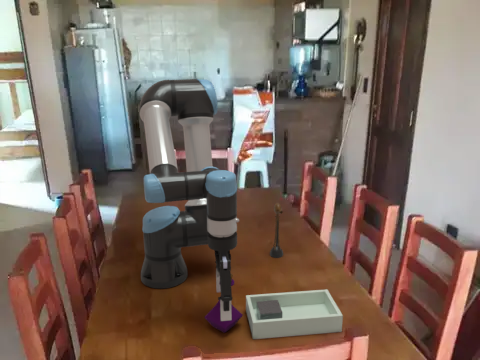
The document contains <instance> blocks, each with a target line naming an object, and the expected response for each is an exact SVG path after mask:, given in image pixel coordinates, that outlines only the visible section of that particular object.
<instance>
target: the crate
mask: <svg viewBox="0 0 480 360" xmlns="http://www.w3.org/2000/svg"><path fill="white" fill-rule="evenodd" d="M271 300H278V302H279V305H280V307H281V310H282V318H278V319H266V320H258V318H257V314H256V311H257V302H258V301H271ZM245 312H246V316H247V322H248V324H249V328H250V333H251V337H252V340H260V339H271V338H273V339H274V338H283V337H284V338H285V337H295V336H296V337H297V336H307V335H308V336H309V335H318V334H319V335H320V334H330V333H331V334H332V333H342V331H343V321H344V319H343V318H344V315H343V314H342V312H341V310H340V307H339V306H338V304H337V303H336V302H335V300H334V298H333V296H332V295H331V293H330V291H329V289H327V288H326V289H316V290H315V289H314V290H313V289H312V290H302V291H301V290H300V291H299V290H298V291H287V292H276V293H275V292H274V293H262V294H261V293H259V294H250V295H249V294H247V295H245Z"/></svg>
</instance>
